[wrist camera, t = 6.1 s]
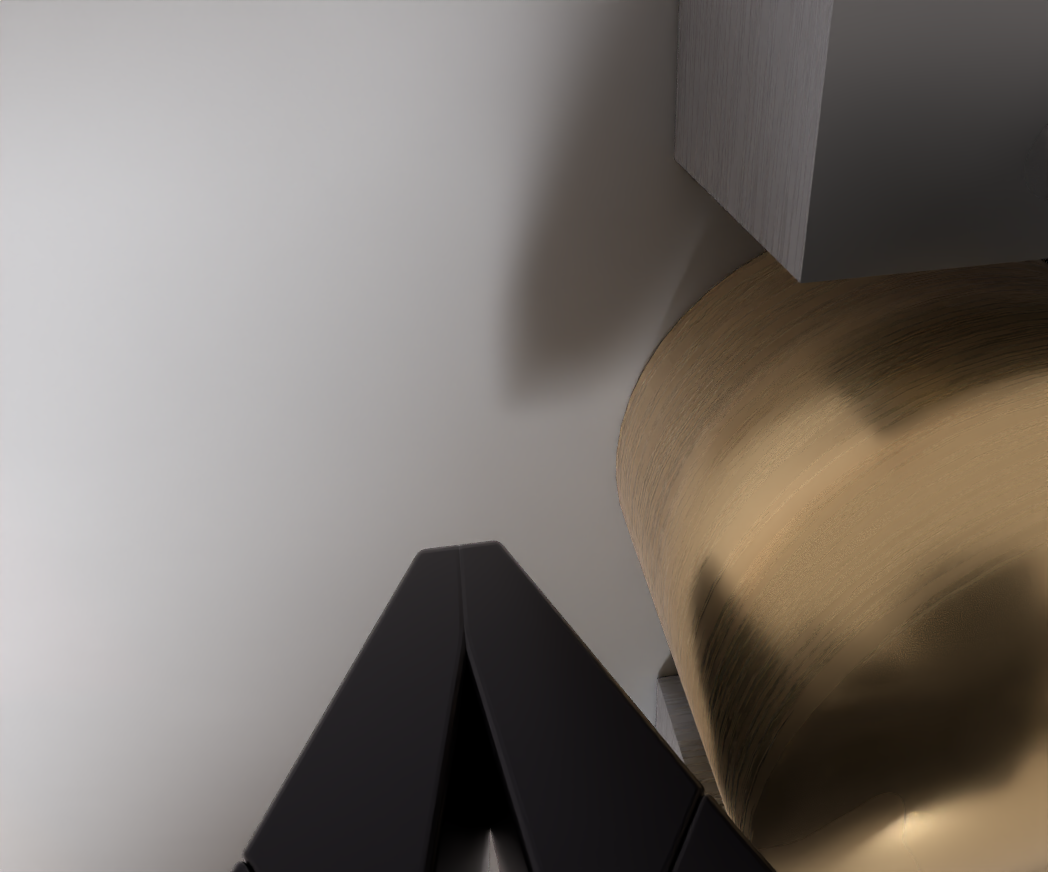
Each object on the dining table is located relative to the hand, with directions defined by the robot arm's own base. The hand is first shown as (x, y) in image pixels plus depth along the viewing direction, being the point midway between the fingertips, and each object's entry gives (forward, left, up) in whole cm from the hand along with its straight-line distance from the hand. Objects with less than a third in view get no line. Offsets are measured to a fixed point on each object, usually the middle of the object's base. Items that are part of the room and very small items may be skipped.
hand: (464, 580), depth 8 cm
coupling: (0, -4, -2) cm, 5 cm away
